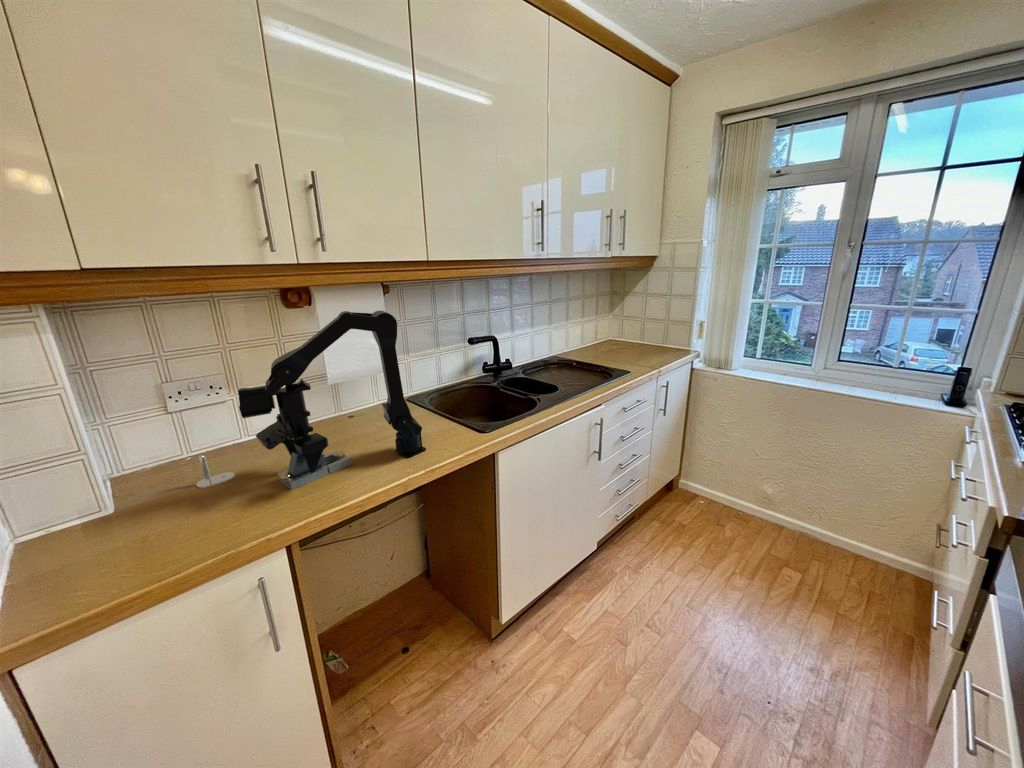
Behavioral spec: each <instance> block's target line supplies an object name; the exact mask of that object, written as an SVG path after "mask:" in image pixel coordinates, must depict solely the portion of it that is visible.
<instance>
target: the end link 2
mask: <svg viewBox="0 0 1024 768" xmlns="http://www.w3.org/2000/svg"><path fill="white" fill-rule="evenodd" d="M351 465H352V459H351V457H349V456H348V455H346V453H345V451H339V450H336V451H333V452H331V453H328V454H324V460H323V464H322V467H324V466H326V467H327V468H328V474H333V473H335V472H337V471H340V470H342V469H344V468H347V467H349V466H351Z"/></svg>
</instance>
